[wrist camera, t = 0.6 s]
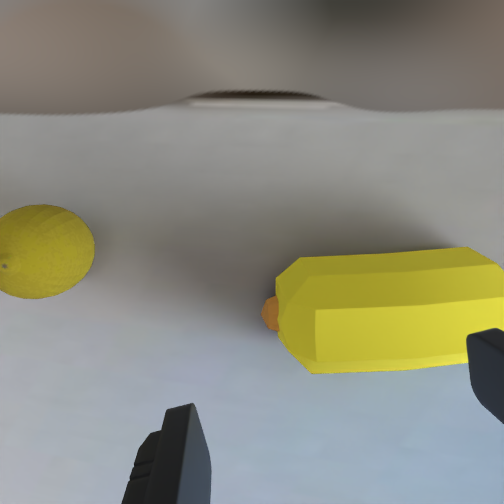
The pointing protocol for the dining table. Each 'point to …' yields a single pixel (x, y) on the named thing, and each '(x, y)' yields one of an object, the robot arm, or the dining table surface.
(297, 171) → the dining table surface
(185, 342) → the dining table surface
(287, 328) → the yellow faceted capsule
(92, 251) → the lemon
